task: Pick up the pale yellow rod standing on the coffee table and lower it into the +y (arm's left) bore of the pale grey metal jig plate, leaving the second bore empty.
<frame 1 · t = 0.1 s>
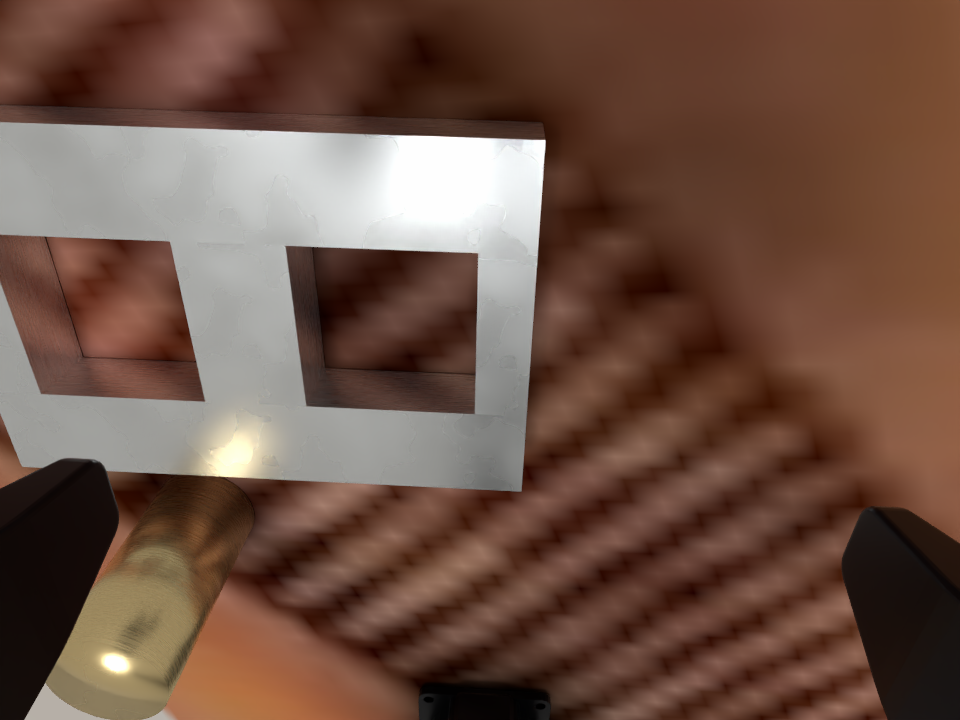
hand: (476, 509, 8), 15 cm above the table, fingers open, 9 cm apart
jig: (268, 295, 23), on the table
pale yellow rod: (207, 508, 28), on the table
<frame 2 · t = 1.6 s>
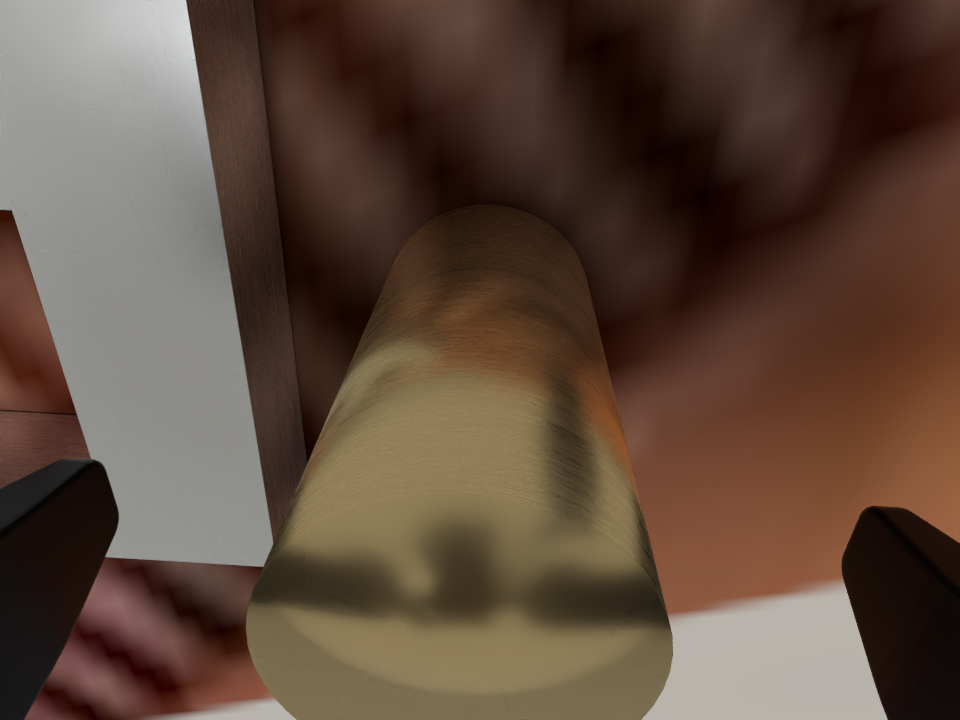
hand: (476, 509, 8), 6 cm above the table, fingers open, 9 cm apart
pale yellow rod: (487, 303, 13), on the table
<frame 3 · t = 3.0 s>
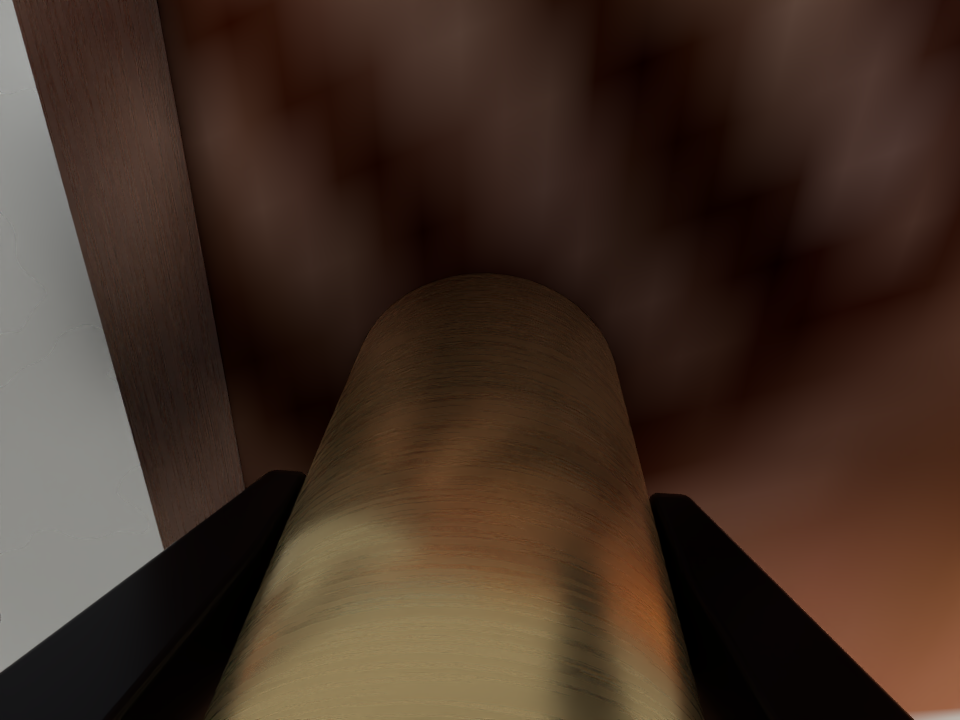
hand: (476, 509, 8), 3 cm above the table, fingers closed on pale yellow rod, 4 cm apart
pale yellow rod: (485, 395, 10), on the table, touching gripper
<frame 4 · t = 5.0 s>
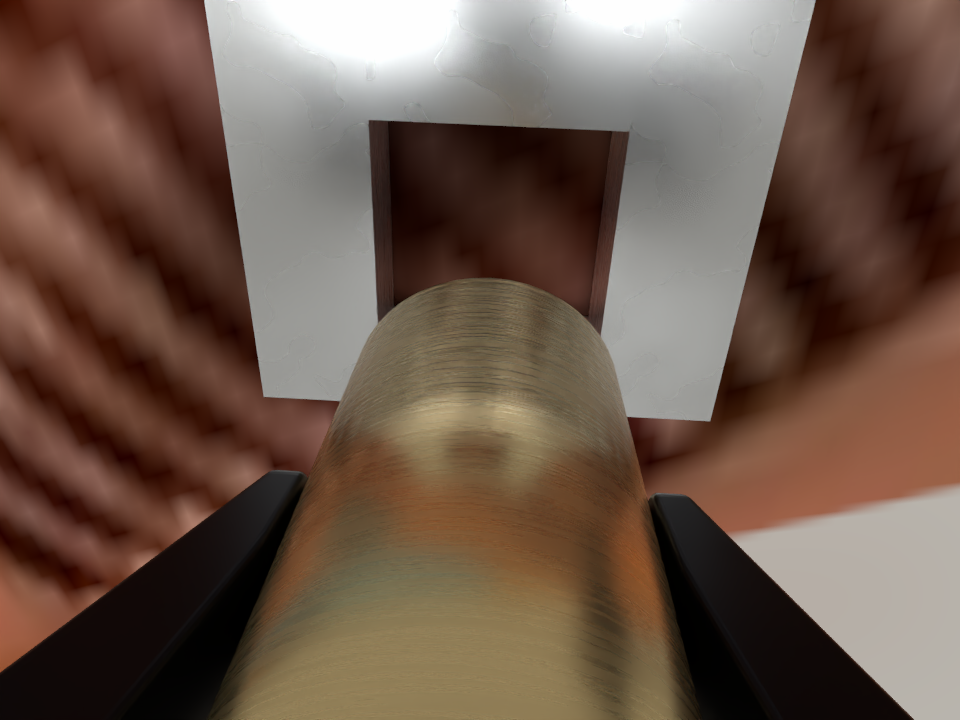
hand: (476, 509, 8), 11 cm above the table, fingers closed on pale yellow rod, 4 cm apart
jig: (504, 29, 16), on the table
pale yellow rod: (485, 399, 10), point 9 cm above the table, touching gripper
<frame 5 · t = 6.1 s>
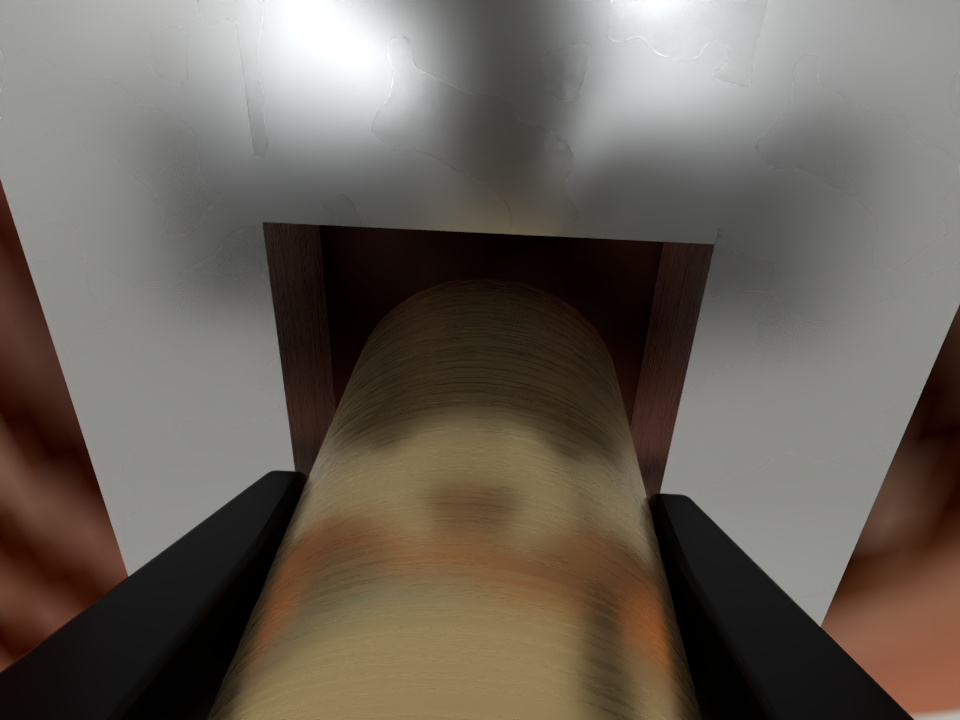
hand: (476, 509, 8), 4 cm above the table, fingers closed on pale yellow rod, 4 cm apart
jig: (498, 61, 10), on the table
pale yellow rod: (485, 399, 10), point 2 cm above the table, touching gripper
when the fingers open (4 cm above the table, at t = 6.9 s): pale yellow rod drops 1 cm, resting in jig.
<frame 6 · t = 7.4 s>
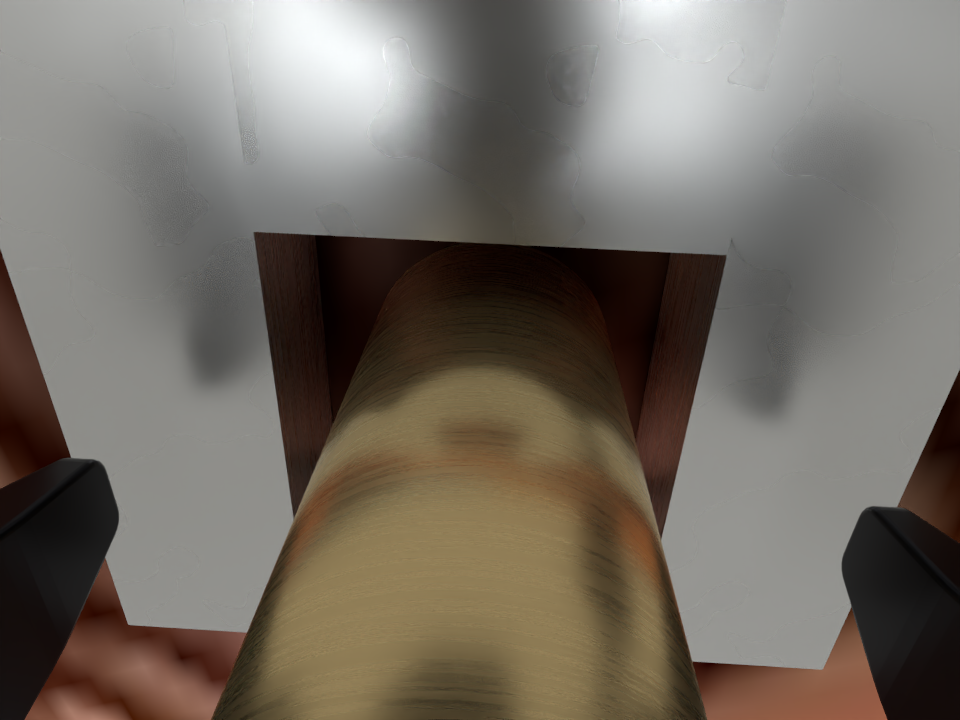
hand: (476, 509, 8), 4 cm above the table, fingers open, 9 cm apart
jig: (500, 63, 9), on the table
pale yellow rod: (490, 351, 11), resting in jig
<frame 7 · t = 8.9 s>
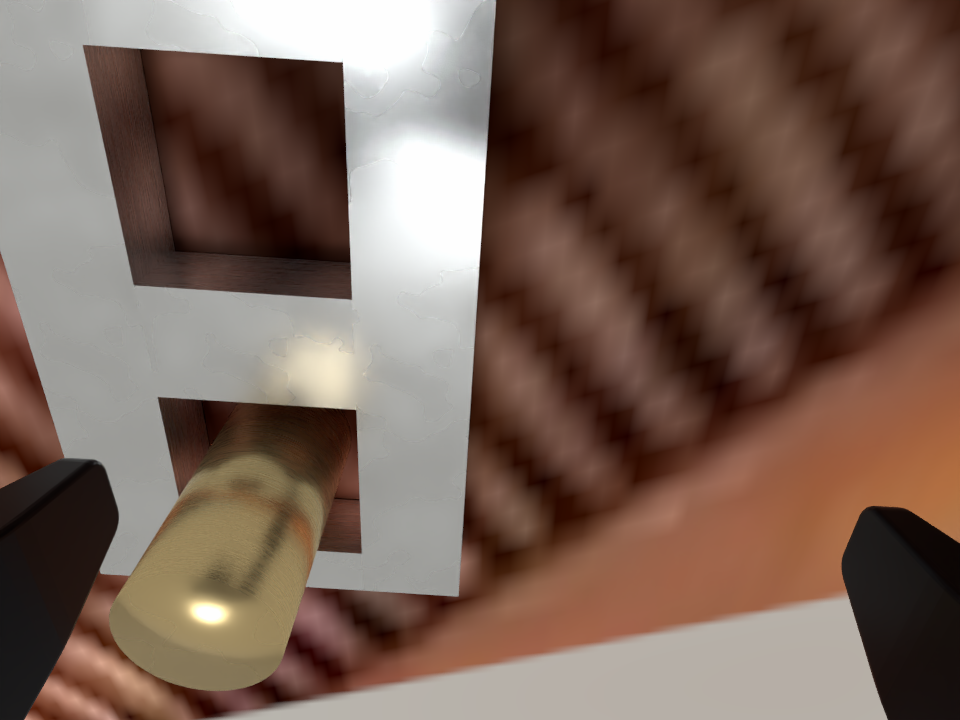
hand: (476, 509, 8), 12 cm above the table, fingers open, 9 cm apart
jig: (277, 310, 20), on the table
pale yellow rod: (291, 433, 22), resting in jig
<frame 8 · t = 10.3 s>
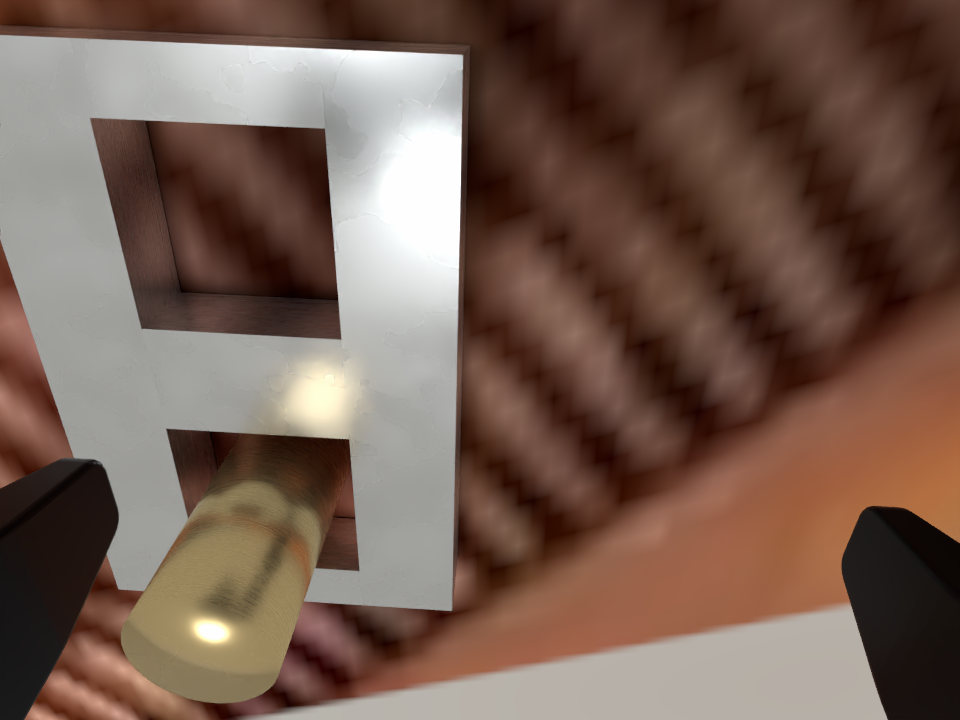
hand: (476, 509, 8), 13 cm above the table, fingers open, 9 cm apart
jig: (276, 345, 21), on the table
pale yellow rod: (293, 457, 24), resting in jig
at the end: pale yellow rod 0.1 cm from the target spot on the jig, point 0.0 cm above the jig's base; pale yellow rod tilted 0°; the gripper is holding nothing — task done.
